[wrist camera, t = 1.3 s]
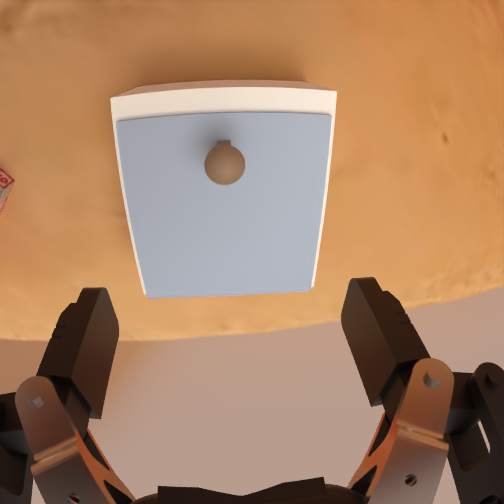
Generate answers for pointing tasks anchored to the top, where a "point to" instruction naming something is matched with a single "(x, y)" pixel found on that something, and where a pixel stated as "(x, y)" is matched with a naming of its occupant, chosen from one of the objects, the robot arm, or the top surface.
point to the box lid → (225, 200)
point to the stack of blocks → (5, 187)
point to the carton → (223, 100)
